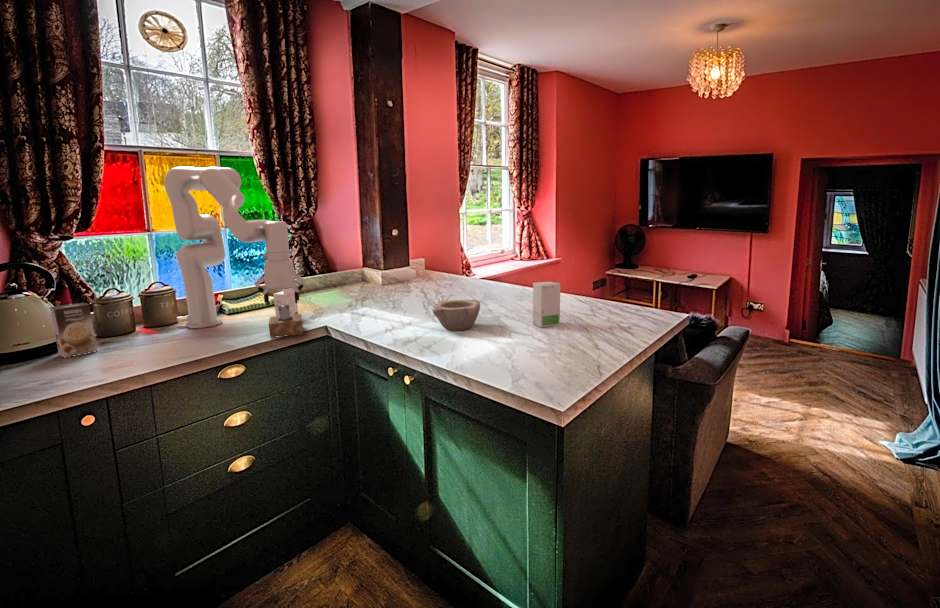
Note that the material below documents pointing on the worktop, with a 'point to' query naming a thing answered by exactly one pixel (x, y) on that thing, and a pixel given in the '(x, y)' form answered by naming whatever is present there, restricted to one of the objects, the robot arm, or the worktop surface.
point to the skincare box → (546, 304)
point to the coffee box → (73, 329)
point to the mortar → (457, 313)
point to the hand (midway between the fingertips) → (282, 303)
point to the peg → (284, 312)
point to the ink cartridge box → (286, 300)
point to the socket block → (286, 326)
